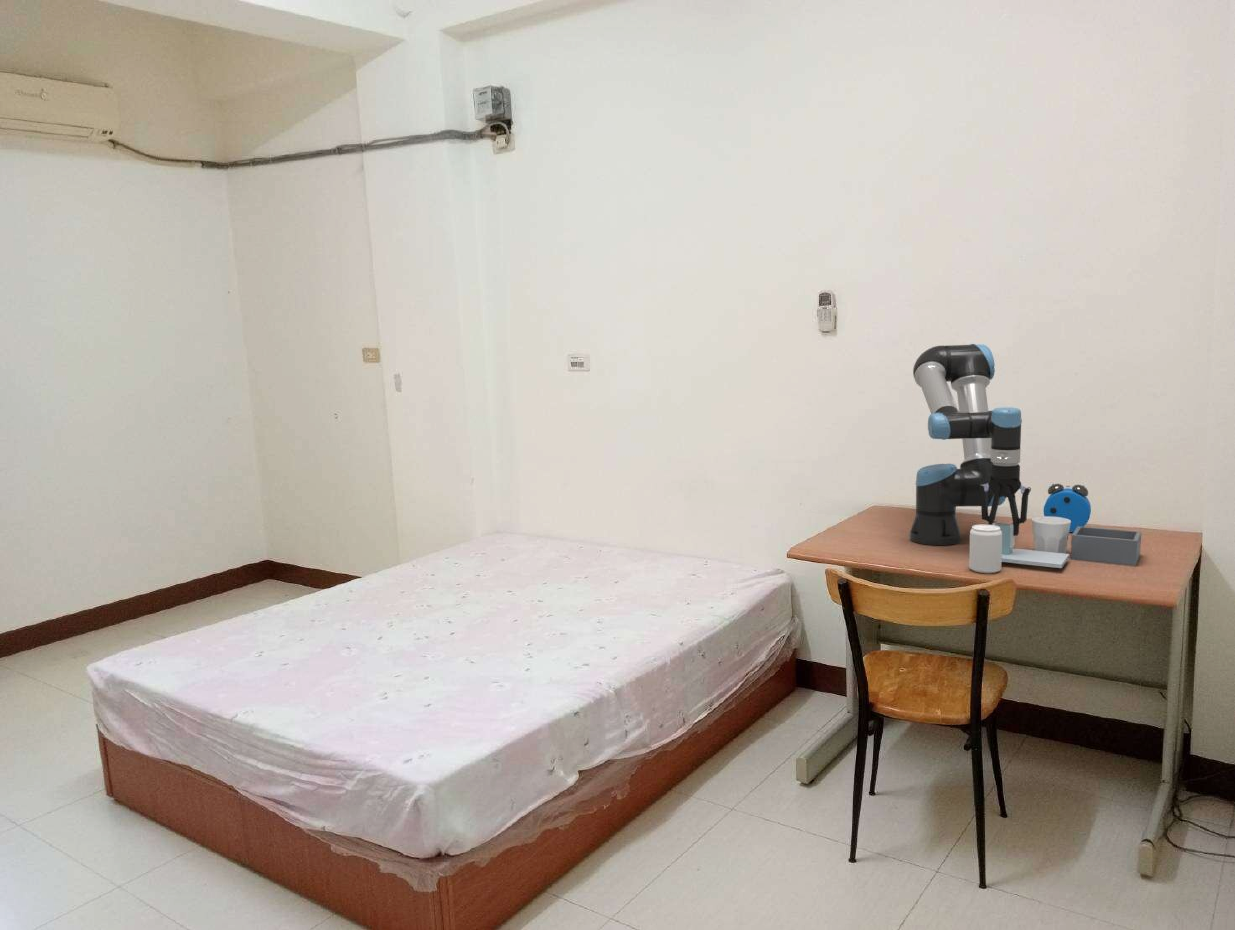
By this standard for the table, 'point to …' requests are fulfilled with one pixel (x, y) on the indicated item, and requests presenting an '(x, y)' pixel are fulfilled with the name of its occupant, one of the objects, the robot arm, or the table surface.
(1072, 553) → the tub
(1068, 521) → the cup
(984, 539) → the beverage can
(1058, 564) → the pale blue stand
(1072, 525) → the alarm clock
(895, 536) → the table surface
